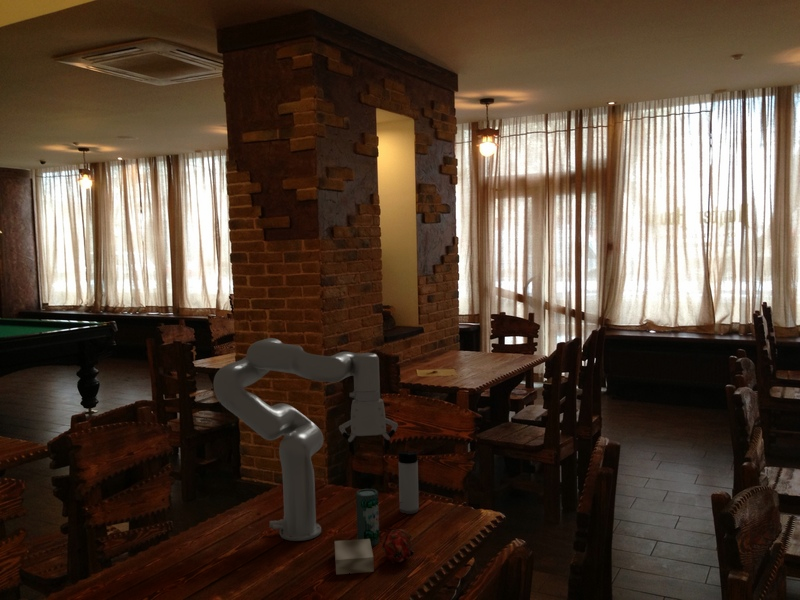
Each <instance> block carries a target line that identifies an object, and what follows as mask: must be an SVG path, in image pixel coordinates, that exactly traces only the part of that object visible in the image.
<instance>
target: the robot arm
mask: <svg viewBox="0 0 800 600" xmlns="http://www.w3.org/2000/svg"><path fill="white" fill-rule="evenodd" d="M270 371H273V372H280V373H287V374H295V375H296V376H297V377H300V378H301V377H302V378H304V379H308V380H310V381H311V380H312V381H317V382H326V383H337V382H342V381H343V380H344V379H346V378H348V377H351V376H353V391H352V392H349V398H353V399H352V401H351V407H350V408H351V409H350V419H349V420H348V421H346V422H344V423H342V424H340V425H339V426H338V430H339V432H340V433H341V435H342V436H343V438H344V439H346V440H347V441H348V447H349V449H348V450H349V453H351V456H354V455H355V438H356V437H366V436H381V435H382V436H383V437H384V438H383V447H384V449H383V450H384V454H385V455H386V454H388V451H389V450H390V440H391V438H392V437H393V436H394V435H395V434H396V431H397V429H398V427H399V423H398V422H396V421H393V420H392V419H389V418H387V417H386V410H385V403H384V400H383V399H382V398H381V384H380V379H381V378H380V358H379V355H377V353H374V352H362V353H359V352H351V351H341V352H337V353H335V354H333V355H331V356H329V355H319V354H314V353H313V354H312V353H308V352H306V351H305V350H304V348H303V347H302V346H301V345H298V344H289V343H283V342H282V341H281V340H280V339H278V338H274V337H268V338H265V339H261V340H258V341H255V342H253V343H252V344H251V345H250V346H249V347H248V348H247V351H246V356H245V357H243V358H242V359H240V360H237V361H233V362H231V363H228V364H226V365H224V366H222V367H221V368H219V370H217V372H216V373H215V375H214V377H213V390H214V395H215V397H216V399H217V400H218V402H219V404H220V405H222V407H224V408H225V409H226V410H228V411H229V412H230V413H232V414H233V415H234V416H235V417H237V418H238V419H239V420H240V421H242V422H243V423H244V424H245V425H246V426H248V427H249V428H250V429H251V430H253V432H255V433H256V434H258V435H259V436H260V437H261V438H263V439H264V440H265V441H274V440H277V439H279V438H280V437H282V436H283V438H282V439H281V441H280V443H279V449H278V455H279V459H280V460H279V461H280V464H281V471H282V473H281V474H282V489H283V490H282V491H283V493H282V494H283V518H282V519H281V518H280V520H269V528H272V530H279V536H280V538H281V539H284V540H286V541H290V542H303V541H309V540H312V539H315V538H317V537H319V536H320V534H322V526H321V525H320V524H319V523H317V515H316V514H317V513H316V486H315V470H314V466H313V463H312V456H313V455H315V454H316V453H317V452H318V451H319V450H320V449H321V448H322V446H323V445H324V441H325V439H324V435H323V432H322V429H320V428H319V427H318V426H317V424H316V423H314V422H313V421H312V420H310V418H308V417H307V416H306V415H304V414H303V413H302V412H301V411H299V410H297V408H295V407H294V406H292V405H290V404H287V403H283V402H282V403H276V404H273V405H270V404H268V403H266V402H265V401H264V400H262V398H260V397H259V396H257V394H254V393H252V392H249V391H248V390H246V389H245V388H247V387H249V386H251V385H254V384H255V383H256V382H258V381H259V380H261V378H263V377H264V376H265V375H267V374H268V373H270ZM387 425H388V426H391V429H389V431H387ZM349 427H350V431H351V432H350V434H349V433H348V431H346V429H347V428H349Z"/></svg>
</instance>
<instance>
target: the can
mask: <svg viewBox="0 0 800 600" xmlns="http://www.w3.org/2000/svg"><path fill="white" fill-rule="evenodd" d="M355 500H356V502H355V503H356V529H357V530H356V531H357V532H356V537H357V538H356V540H358V539H370V542H371V547H374V546H377V545H379V543H380V520H379V519H380V516H379V515H380V513H379V491H378V490H377V489H374V488H363V489H359V490H357V491H356V493H355Z"/></svg>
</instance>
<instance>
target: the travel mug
mask: <svg viewBox="0 0 800 600" xmlns="http://www.w3.org/2000/svg"><path fill="white" fill-rule="evenodd" d="M418 462H419V461H418V452H417V451H409V450H401V451H398V493H399V494H398V497H399V499H398V500H399V501H398V502H399V512H400V513H402V514H404V513H406V515H411V514H416V513H418V512H419V507H420V506H419V465H418V464H419V463H418Z"/></svg>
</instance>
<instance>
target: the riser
mask: <svg viewBox="0 0 800 600" xmlns="http://www.w3.org/2000/svg"><path fill="white" fill-rule="evenodd" d="M334 558H335V559H334V560H335V573H336V575H337V576H338V575H348V574H349V573H350V574H360V573H373V572H374V571H375V567H374V565H375V564H374V552H373V546H371V542H370V539H358V540H357V539H347V540H334Z"/></svg>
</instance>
